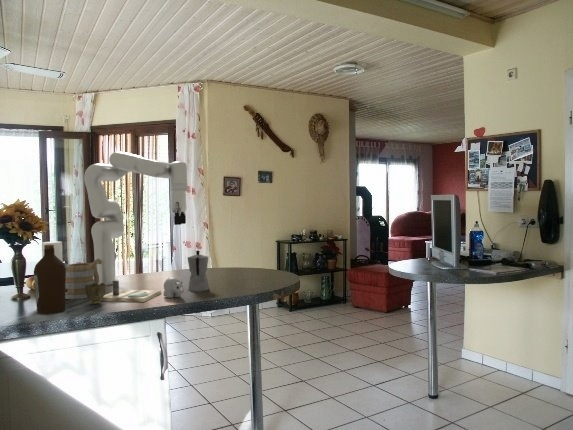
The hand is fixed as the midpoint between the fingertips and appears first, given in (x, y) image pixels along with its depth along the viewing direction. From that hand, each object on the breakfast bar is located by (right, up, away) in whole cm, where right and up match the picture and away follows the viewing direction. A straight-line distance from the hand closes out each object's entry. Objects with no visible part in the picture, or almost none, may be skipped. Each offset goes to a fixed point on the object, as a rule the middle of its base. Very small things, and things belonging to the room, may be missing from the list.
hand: (180, 224), depth 212 cm
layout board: (-16, -31, -22) cm, 41 cm away
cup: (-26, -32, -33) cm, 53 cm away
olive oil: (-38, -32, -45) cm, 67 cm away
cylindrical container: (-43, -32, -33) cm, 63 cm away
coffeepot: (+11, -30, -9) cm, 33 cm away
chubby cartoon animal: (+4, -31, -25) cm, 40 cm away
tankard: (-38, -31, -14) cm, 51 cm away
